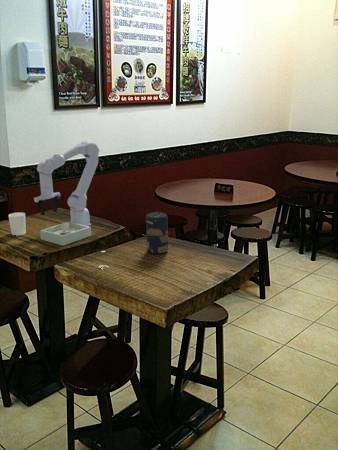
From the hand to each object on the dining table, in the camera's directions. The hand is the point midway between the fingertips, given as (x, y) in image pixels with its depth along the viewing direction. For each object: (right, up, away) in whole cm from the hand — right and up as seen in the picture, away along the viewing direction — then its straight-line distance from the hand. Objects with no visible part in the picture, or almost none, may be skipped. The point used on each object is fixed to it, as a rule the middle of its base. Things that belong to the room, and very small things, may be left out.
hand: (48, 213), depth 235 cm
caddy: (+10, -12, -5) cm, 16 cm away
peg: (+9, -12, -5) cm, 16 cm away
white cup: (-15, -10, +1) cm, 19 cm away
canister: (+55, -18, -25) cm, 63 cm away
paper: (+33, -22, -37) cm, 54 cm away
